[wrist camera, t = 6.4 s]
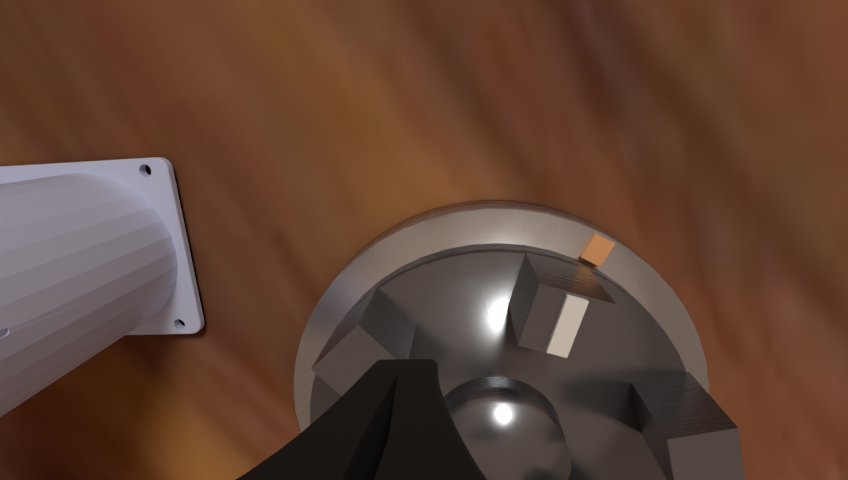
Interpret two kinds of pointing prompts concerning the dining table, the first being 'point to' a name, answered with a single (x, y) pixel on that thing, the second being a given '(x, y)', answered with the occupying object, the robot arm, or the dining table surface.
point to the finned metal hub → (538, 368)
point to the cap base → (487, 227)
